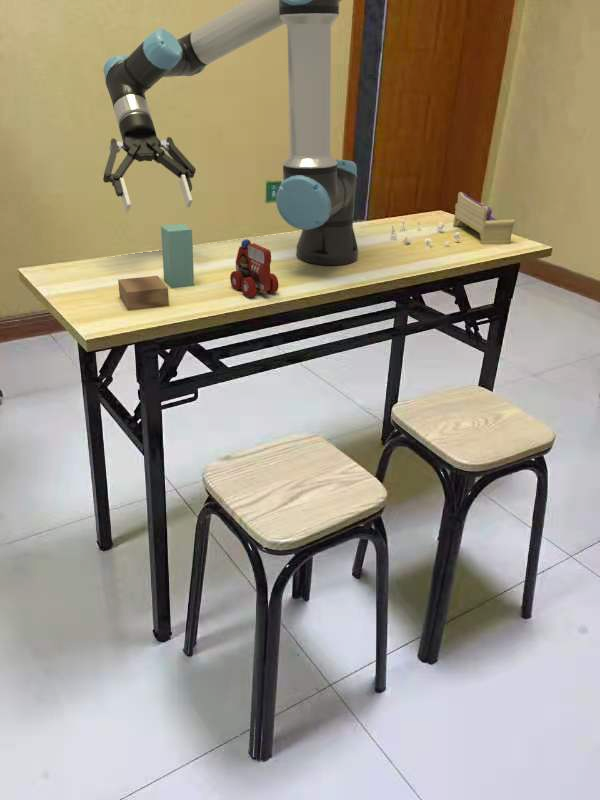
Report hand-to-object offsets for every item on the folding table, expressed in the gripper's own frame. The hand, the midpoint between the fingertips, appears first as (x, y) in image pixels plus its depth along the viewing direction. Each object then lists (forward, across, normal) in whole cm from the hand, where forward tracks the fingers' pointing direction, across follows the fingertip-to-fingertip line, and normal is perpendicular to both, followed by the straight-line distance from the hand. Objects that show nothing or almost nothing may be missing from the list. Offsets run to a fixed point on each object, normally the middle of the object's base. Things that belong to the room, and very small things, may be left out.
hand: (159, 206), depth 148 cm
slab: (+23, +10, +2) cm, 25 cm away
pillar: (+17, 0, -3) cm, 17 cm away
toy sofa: (+10, -92, -10) cm, 93 cm away
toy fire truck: (+24, -13, +4) cm, 28 cm away
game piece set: (+9, -74, -12) cm, 76 cm away
